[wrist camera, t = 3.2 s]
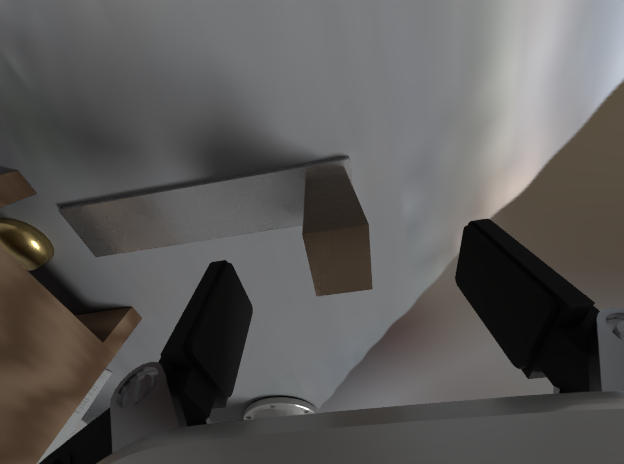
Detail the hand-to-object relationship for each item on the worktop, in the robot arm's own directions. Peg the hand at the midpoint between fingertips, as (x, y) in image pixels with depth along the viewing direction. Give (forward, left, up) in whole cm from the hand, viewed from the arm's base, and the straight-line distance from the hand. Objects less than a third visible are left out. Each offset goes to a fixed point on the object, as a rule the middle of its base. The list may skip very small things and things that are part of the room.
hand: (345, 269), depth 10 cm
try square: (-1, +10, -12) cm, 16 cm away
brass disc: (-1, +29, -12) cm, 31 cm away
